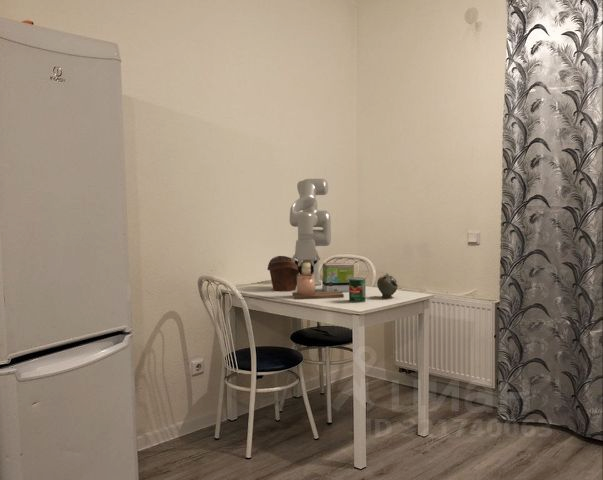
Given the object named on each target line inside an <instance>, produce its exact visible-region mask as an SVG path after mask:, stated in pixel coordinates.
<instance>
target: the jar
mask: <svg viewBox="0 0 603 480" xmlns="http://www.w3.org/2000/svg"><path fill="white" fill-rule="evenodd" d="M296 292H297V295H314V294H315V292H316V285H315V275H313V274H311V275H301V274H299V275H297V287H296Z"/></svg>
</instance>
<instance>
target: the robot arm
mask: <svg viewBox="0 0 603 480" xmlns="http://www.w3.org/2000/svg"><path fill="white" fill-rule="evenodd" d="M328 183H329V182H328V181H327V180H326V179H325V178H306V179H303V180H300V181H298V182H297V186H296V188H297V192H298V195H299V198H298V199H296V200H295V201H294V202H293V203H292V204H291V207H290V209H289V224H290V225H291V226H292V227H296V228H297V239H296V241H295V247H294V249H295V250H294V252H295V253H294V254H293V255H292V257H290V258H291V260H292V261H293V262H295V263H296V264H297V265H298V272H299V274H301V262H303V260H308V262H311V274H313V275H315V286H320V285H322V281H319V279H320V278H319V276H320V275H319V273H320V271H319V269H320V268H319V267H320V265H319V264H320V263H319V261H320V260H321V257H320V255H319V252H318V251H317V249H316V248H317V247H327V246H330V244H331V243H332V242H331V241H332V232H331V231H332V230H331V229H332V226H331V223H332V222H331V221H332V220H331V214H330V212H329V211H328V210H318V201H317V198H316V196H326V195H327V194H328V192H329V185H328ZM314 228H316V229H314ZM317 228H322V229H317ZM296 260H297V261H298V262H297V261H296Z"/></svg>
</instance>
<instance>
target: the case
mask: <svg viewBox="0 0 603 480" xmlns="http://www.w3.org/2000/svg"><path fill="white" fill-rule="evenodd" d="M291 258H292V257H289V256H286V255H277V256H274V257H272V258H271V259H270V261H269V262H268V265H267V271H269V274H270V280H271V284H272V285H271V286H272V291H277V292H292V291H295V290H297V275H299V272H298V265H297V264H296V263H295V262H293V261H292V260H291ZM295 260H296V261H297V262H298V260H297V259H295Z"/></svg>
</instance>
